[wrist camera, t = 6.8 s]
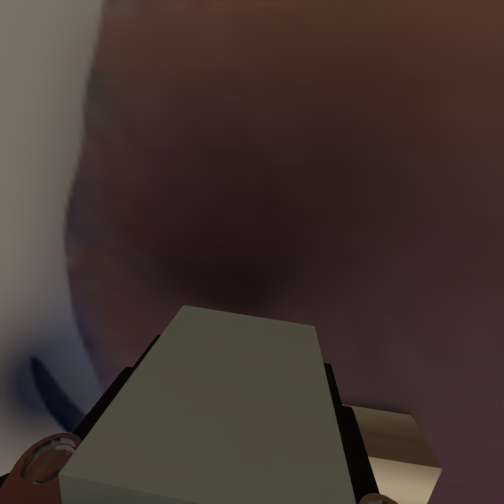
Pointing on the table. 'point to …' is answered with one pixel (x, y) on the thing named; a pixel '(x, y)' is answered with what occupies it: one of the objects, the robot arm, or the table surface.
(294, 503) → the sage block
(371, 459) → the maple base
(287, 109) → the table surface
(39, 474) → the robot arm
